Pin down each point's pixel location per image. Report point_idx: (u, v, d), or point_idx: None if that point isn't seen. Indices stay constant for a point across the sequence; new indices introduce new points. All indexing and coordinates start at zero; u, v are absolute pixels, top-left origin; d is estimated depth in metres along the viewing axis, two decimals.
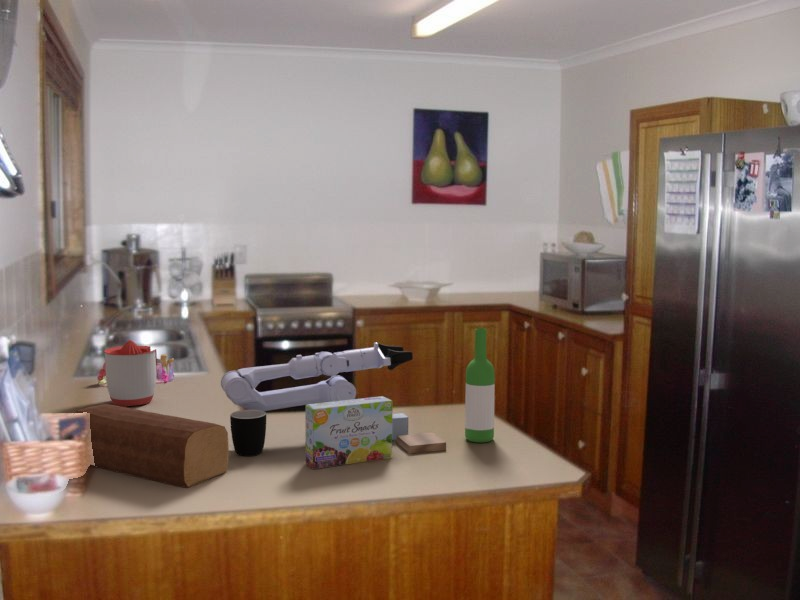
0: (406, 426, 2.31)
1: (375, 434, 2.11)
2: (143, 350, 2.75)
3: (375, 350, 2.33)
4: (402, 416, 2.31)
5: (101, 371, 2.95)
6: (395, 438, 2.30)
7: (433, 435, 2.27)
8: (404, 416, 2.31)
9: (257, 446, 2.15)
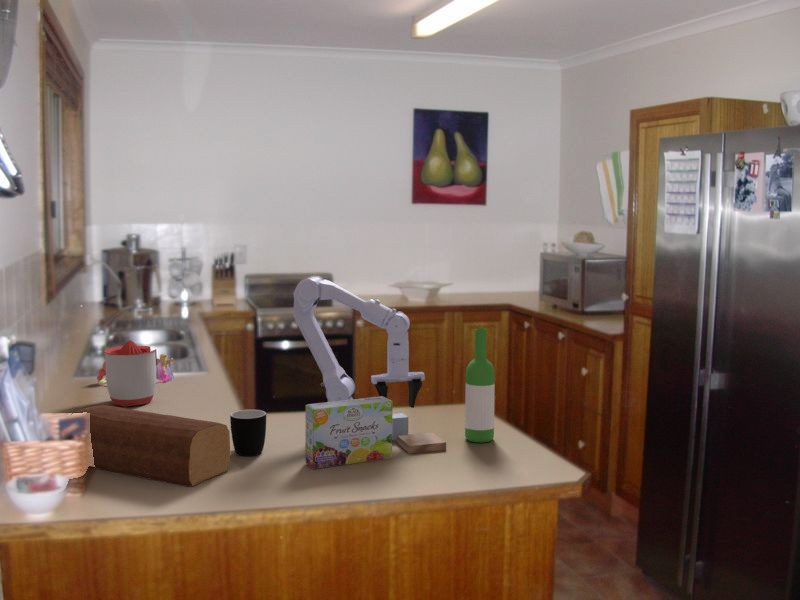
0: (406, 426, 2.31)
1: (375, 434, 2.11)
2: (143, 350, 2.75)
3: (394, 374, 2.28)
4: (402, 416, 2.31)
5: (101, 371, 2.96)
6: (395, 438, 2.30)
7: (433, 435, 2.27)
8: (404, 416, 2.31)
9: (257, 446, 2.15)
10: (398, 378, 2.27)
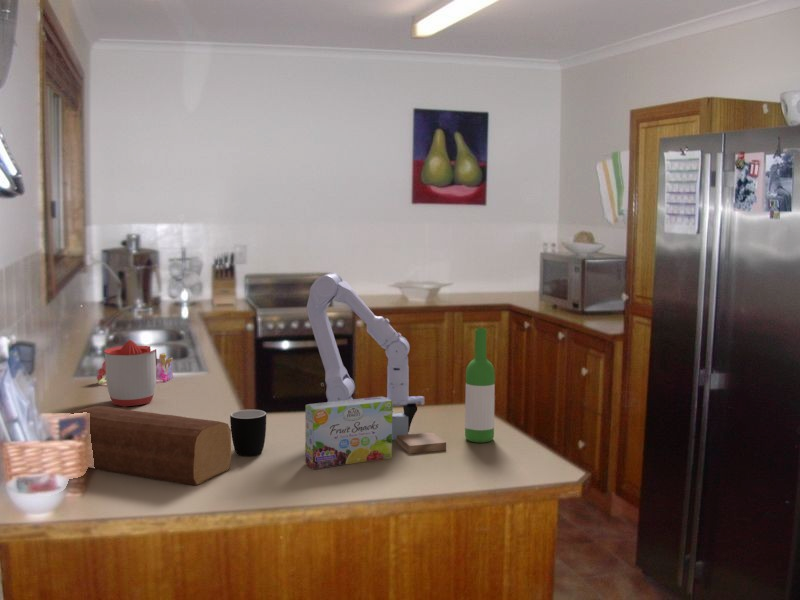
0: (406, 426, 2.31)
1: (375, 434, 2.11)
2: (143, 350, 2.75)
3: (394, 399, 2.29)
4: (402, 416, 2.31)
5: (100, 370, 2.96)
6: (395, 438, 2.30)
7: (433, 435, 2.27)
8: (404, 416, 2.31)
9: (257, 446, 2.15)
10: (398, 403, 2.28)
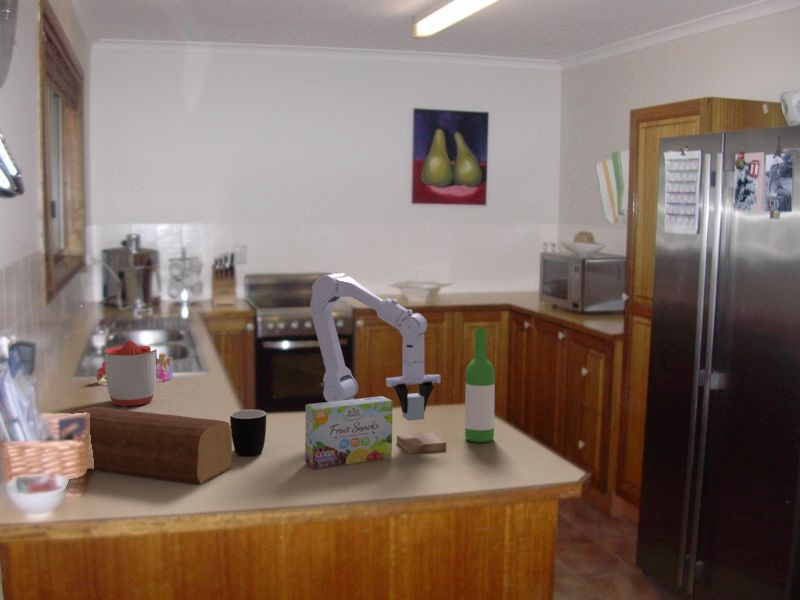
0: (422, 406, 2.25)
1: (375, 434, 2.11)
2: (143, 350, 2.75)
3: (410, 377, 2.22)
4: (418, 396, 2.25)
5: (100, 370, 2.97)
6: (411, 418, 2.24)
7: (433, 435, 2.27)
8: (420, 396, 2.25)
9: (257, 446, 2.15)
10: (414, 381, 2.22)
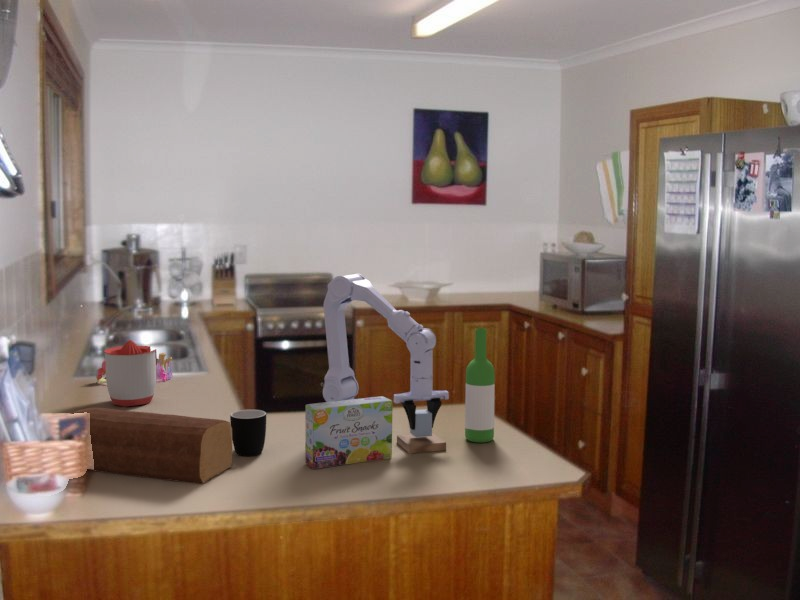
0: (430, 422, 2.22)
1: (375, 434, 2.11)
2: (143, 350, 2.75)
3: (418, 393, 2.20)
4: (425, 412, 2.23)
5: (100, 370, 2.97)
6: (418, 435, 2.21)
7: (433, 435, 2.27)
8: (427, 412, 2.23)
9: (257, 446, 2.15)
10: (422, 397, 2.19)
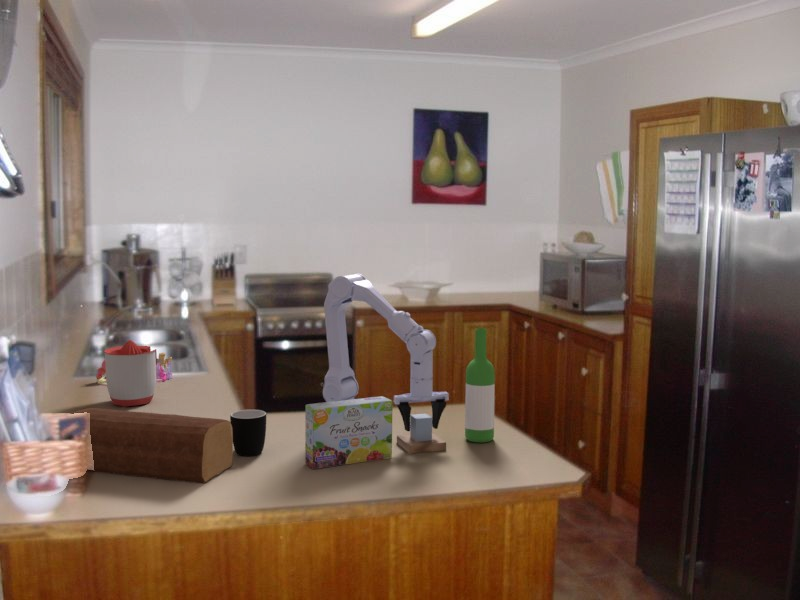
0: (430, 427, 2.22)
1: (375, 434, 2.11)
2: (143, 350, 2.75)
3: (418, 395, 2.20)
4: (425, 416, 2.23)
5: (100, 370, 2.97)
6: (418, 439, 2.22)
7: (433, 435, 2.27)
8: (427, 416, 2.23)
9: (257, 446, 2.15)
10: (422, 398, 2.19)
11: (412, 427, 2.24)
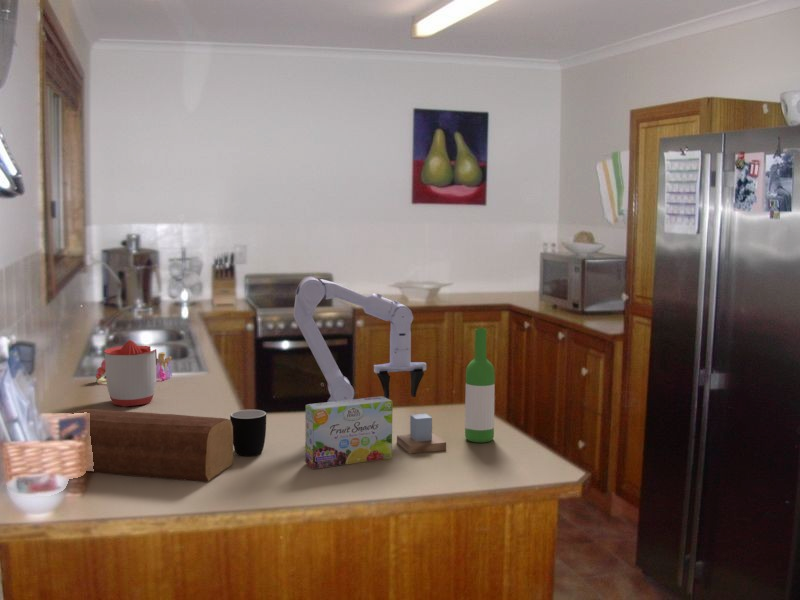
0: (430, 427, 2.22)
1: (375, 434, 2.11)
2: (143, 350, 2.75)
3: (396, 364, 2.33)
4: (425, 416, 2.23)
5: (99, 369, 2.98)
6: (418, 439, 2.22)
7: (433, 435, 2.27)
8: (427, 416, 2.23)
9: (257, 446, 2.15)
10: (400, 368, 2.32)
11: (412, 427, 2.24)
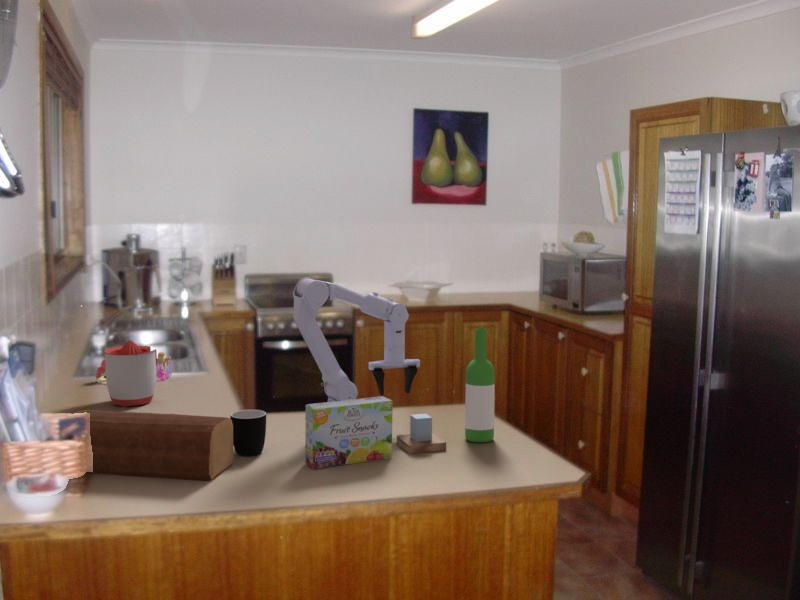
0: (430, 427, 2.22)
1: (375, 434, 2.11)
2: (143, 350, 2.75)
3: (391, 361, 2.37)
4: (425, 416, 2.23)
5: (99, 369, 2.99)
6: (418, 439, 2.22)
7: (433, 435, 2.27)
8: (427, 416, 2.23)
9: (257, 446, 2.15)
10: (394, 364, 2.36)
11: (412, 427, 2.24)
